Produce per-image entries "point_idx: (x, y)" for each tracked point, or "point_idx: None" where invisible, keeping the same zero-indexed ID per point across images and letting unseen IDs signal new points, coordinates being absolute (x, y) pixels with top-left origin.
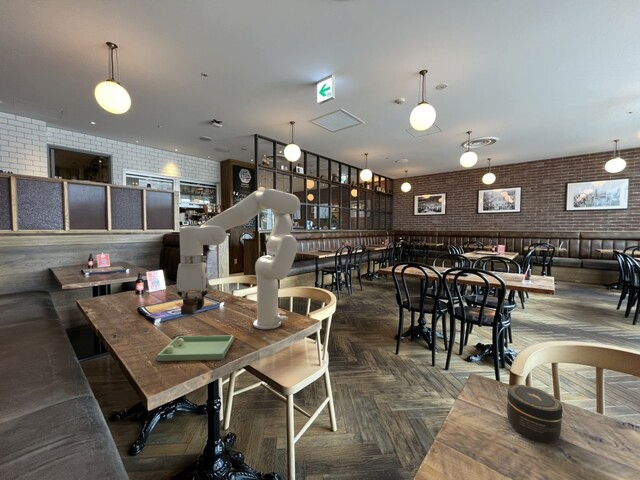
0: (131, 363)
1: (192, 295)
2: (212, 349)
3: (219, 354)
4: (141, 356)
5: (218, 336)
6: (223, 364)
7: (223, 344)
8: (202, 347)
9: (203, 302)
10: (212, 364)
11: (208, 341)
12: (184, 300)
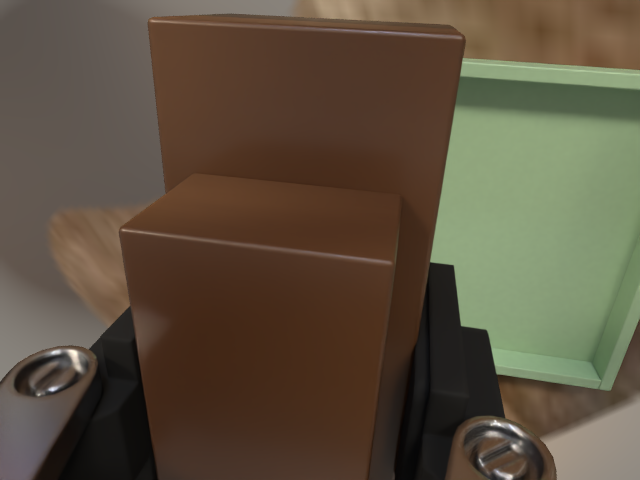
0: (114, 311)
1: (223, 462)
2: (524, 252)
3: (586, 386)
4: (112, 247)
5: (573, 84)
6: (600, 412)
7: (609, 181)
8: (445, 210)
9: (492, 363)
10: (536, 400)
11: (475, 105)
12: (147, 472)
